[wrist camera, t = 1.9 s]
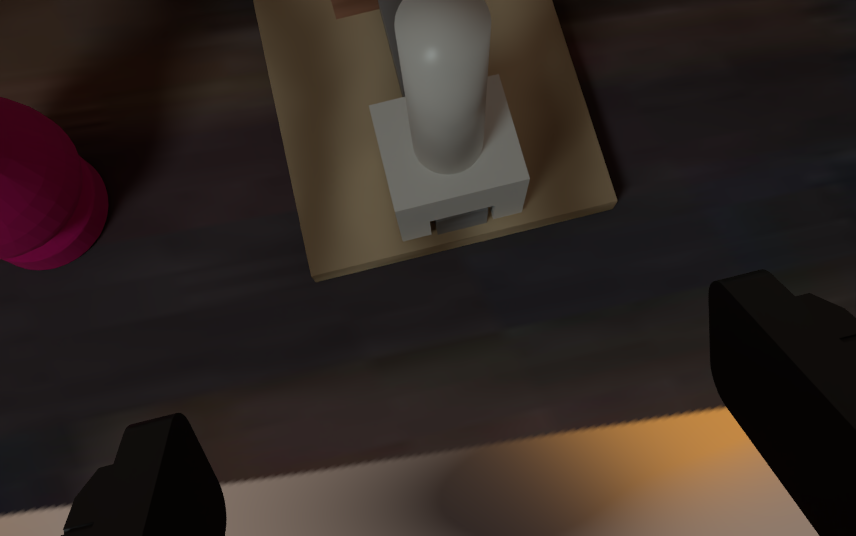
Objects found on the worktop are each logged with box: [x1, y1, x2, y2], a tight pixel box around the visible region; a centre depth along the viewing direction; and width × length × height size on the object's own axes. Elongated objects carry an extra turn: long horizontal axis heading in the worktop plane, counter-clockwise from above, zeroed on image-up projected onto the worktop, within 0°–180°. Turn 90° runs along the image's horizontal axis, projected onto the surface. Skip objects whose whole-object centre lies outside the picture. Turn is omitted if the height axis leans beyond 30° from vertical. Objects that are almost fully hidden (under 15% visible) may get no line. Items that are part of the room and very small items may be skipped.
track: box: [253, 0, 617, 282], centre depth 36 cm, size 15×17×6 cm
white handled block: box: [369, 0, 530, 241], centre depth 30 cm, size 6×5×13 cm
